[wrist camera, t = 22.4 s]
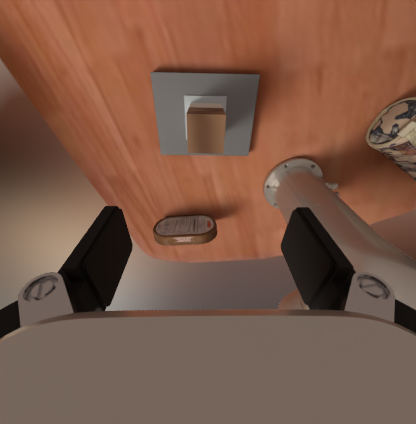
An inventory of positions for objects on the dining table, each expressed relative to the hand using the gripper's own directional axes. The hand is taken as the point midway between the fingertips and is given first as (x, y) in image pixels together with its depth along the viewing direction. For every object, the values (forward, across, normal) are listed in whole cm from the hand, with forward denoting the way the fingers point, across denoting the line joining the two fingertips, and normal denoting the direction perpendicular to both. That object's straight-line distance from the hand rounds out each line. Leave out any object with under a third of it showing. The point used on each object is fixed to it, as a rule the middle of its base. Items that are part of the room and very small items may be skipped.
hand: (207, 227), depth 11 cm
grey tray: (+30, 0, 0) cm, 30 cm away
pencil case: (+31, -39, +4) cm, 50 cm away
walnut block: (+24, 0, 0) cm, 24 cm away
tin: (+31, +4, +24) cm, 39 cm away
